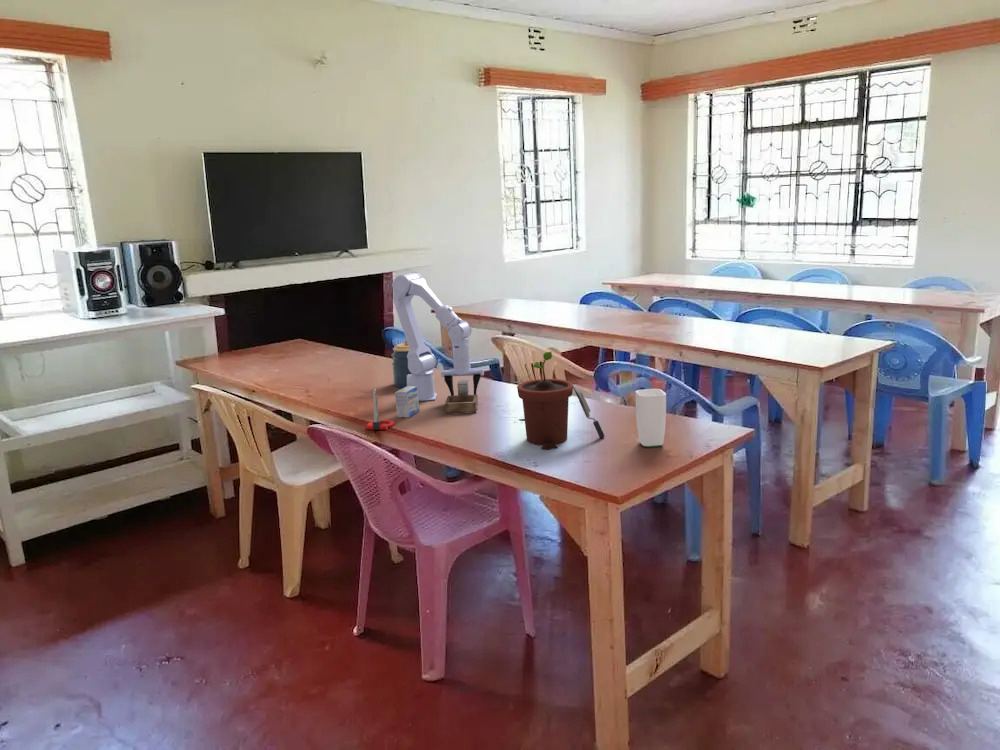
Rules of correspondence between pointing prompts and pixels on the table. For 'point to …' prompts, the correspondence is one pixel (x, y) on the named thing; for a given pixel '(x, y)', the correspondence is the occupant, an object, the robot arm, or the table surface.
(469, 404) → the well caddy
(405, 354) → the canister
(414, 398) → the medicine box
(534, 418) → the potted plant
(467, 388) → the grey two-tone block
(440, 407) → the table surface
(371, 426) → the tow hook
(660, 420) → the cup
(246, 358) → the table surface
